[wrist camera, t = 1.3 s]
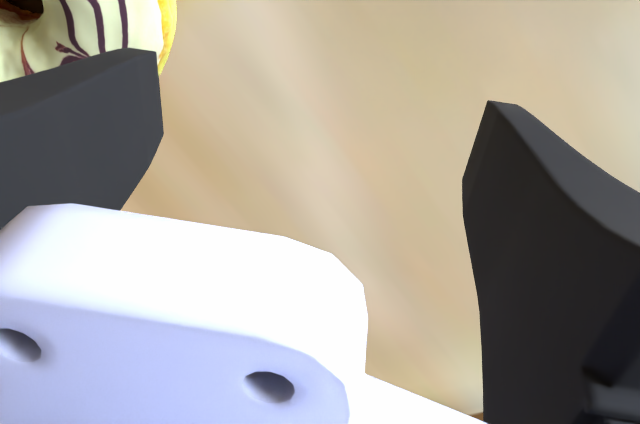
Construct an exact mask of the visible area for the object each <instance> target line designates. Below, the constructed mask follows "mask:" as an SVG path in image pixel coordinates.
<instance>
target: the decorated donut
mask: <svg viewBox="0 0 640 424" xmlns="http://www.w3.org/2000/svg"><path fill="white" fill-rule="evenodd" d="M42 2H43V6H44V12H43V14H39V13H36V12H34V13H32V12H30V11H28V10H22V9H20V8H18V7H16V6H14V5H12V4H10V3H9V2H7V1H6V0H0V82H3V81H7V80H11V79H15V78H19V77H22V76H26V75H29V74H33V73H37V72H40V71H44V70H48V69H51V68H55V67H58V66H61V65H64V64H67V63H71V62H74V61H77V60H80V59H84V58H87V57H90V56H93V55H97V54H100V53H104V52H107V51H111V50H116V49H121V48H136V49H142V50H149V51H156V53H157V65H158V76H159V75H160V74H161V72H162V70H163V68H164V65H165V63H166V61H167V59H168V56H169V53H170V50H171V45H172V42H173V38H174V36H175V28H176V20H177V17H176V9H177V8H176V0H42Z"/></svg>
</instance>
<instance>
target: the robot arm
mask: <svg viewBox="0 0 640 424" xmlns="http://www.w3.org/2000/svg"><path fill="white" fill-rule="evenodd" d="M163 134H164V132H163V121H162V109H161V98H160V87H159V76H158V65H157V53H156V51H149V50H142V49H136V48H121V49H116V50H111V51H107V52H104V53H100V54H97V55H93V56H90V57H87V58H84V59H80V60H77V61H74V62H71V63H67V64H64V65H61V66H58V67H55V68H51V69H48V70H44V71H40V72H37V73H33V74H29V75H26V76H22V77H19V78H15V79H11V80H7V81H3V82H0V424H640V193H639V192H637V191H636V190H634V189H632V188H630V187H629V186H627V185H625V184H624V183H622V182H620V181H619V180H617V179H616V178H614V177H613V176H611V175H609V174H608V173H607V172H605V171H604V170H602V169H601V168H599V167H598V166H597V165H595V164H594V163H592V162H591V161H590V160H588V159H587V158H585V157H584V156H583V155H581V154H580V153H579V152H578V151H576V150H575V149H574V148H572V147H571V146H570V145H569V144H567V143H566V142H565V141H564V140H562V139H561V138H560V137H559V136H557V135H556V134H555V133H554V132H553V131H551V130H550V129H549V128H548V127H547V126H545V125H544V124H543V123H542V122H540V121H539V120H538V119H537V118H536V117H534V116H533V115H532V114H530V113H529V112H528V111H526V110H525V109H523V108H522V107H520V106H518V105H516V104H509V103H502V102H496V101H489V100H488V101H487V104H486V107H485V111H484V114H483V117H482V120H481V123H480V126H479V129H478V132H477V135H476V139H475V142H474V145H473V148H472V151H471V154H470V157H469V160H468V163H467V166H466V170H465V173H464V176H463V179H462V201H463V218H464V225H465V230H466V236H467V242H468V247H469V253H470V258H471V263H472V269H473V274H474V279H475V285H476V290H477V296H478V304H479V311H480V328H481V346H482V372H483V420H484V421H480V420H478V419H476V418H473V417H471V416H468V415H466V414H463V413H461V412H458V411H456V410H453V409H451V408H449V407H446V406H444V405H441V404H439V403H436V402H434V401H431V400H429V399H426V398H424V397H421V396H419V395H417V394H414V393H412V392H409V391H407V390H404V389H402V388H399V387H397V386H394V385H392V384H390V383H387V382H385V381H382V380H380V379H377V378H375V377H372V376H370V375H367V374H365V373H364V370H365V355H366V340H367V325H368V315H367V309H366V303H365V296H364V290H363V285H362V284H361V283H360V282H359V281H358V280H357V279H356V278H355V277H354V276H353V275H352V274H351V273H350V272H349V271H348V270H347V268H346V267H345V266H344V265H343V264H342V263H341V262H340V261H339V260H338V259H337V258H336V257H335V256H334V255H333V254H331V253H328V252H325V251H322V250H320V249H317V248H314V247H311V246H309V245H306V244H303V243H301V242H298V241H295V240H292V239H290V238H287V237H284V236H277V235H271V234H265V233H258V232H252V231H245V230H239V229H233V228H226V227H220V226H214V225H207V224H201V223H195V222H188V221H182V220H175V219H169V218H163V217H156V216H150V215H144V214H137V213H131V212H125V211H120V210H121V208H122V207H123V205H124V204H125V203H126V201H127V200H128V198H129V197H130V195H131V194H132V192H133V191H134V189H135V188H136V186H137V185H138V183H139V182H140V180H141V179H142V177H143V176H144V174H145V172H146V171H147V169H148V168H149V166H150V164H151V162H152V160H153V157H154V155H155V153H156V151H157V149H158V146H159V144H160V141H161V139H162V137H163Z"/></svg>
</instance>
